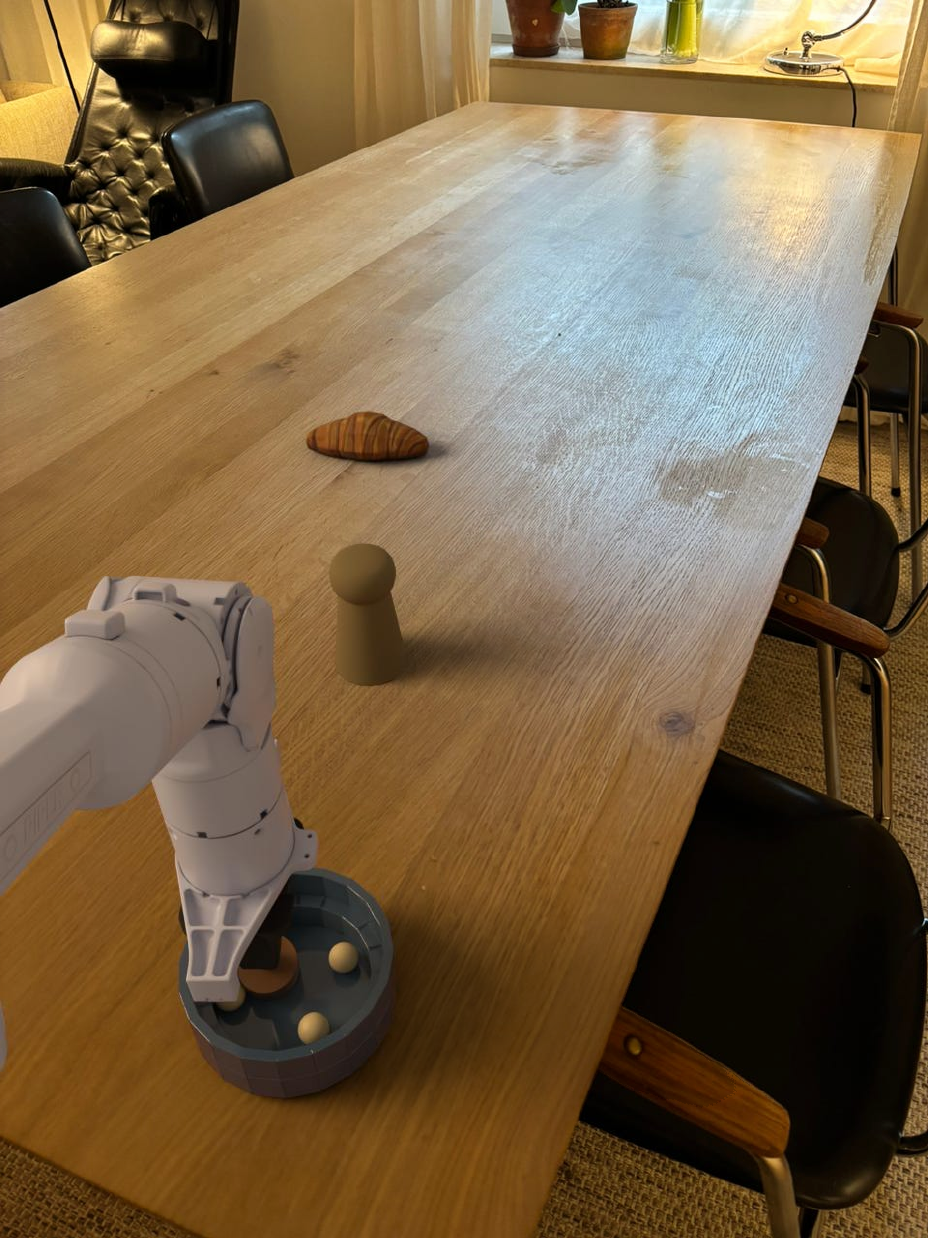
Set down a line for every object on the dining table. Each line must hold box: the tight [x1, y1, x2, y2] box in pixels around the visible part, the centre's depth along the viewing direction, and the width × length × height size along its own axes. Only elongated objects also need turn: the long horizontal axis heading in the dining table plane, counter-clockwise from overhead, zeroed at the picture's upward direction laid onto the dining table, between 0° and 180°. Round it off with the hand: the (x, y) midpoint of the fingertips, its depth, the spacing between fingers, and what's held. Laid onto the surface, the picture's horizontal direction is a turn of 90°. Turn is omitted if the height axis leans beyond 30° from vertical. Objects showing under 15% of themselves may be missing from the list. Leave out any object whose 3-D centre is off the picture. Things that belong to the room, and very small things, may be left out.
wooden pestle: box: [237, 936, 299, 1001], centre depth 57 cm, size 4×4×9 cm
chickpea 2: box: [298, 1012, 329, 1045], centre depth 57 cm, size 2×2×2 cm
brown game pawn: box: [328, 542, 408, 687], centre depth 80 cm, size 6×6×11 cm
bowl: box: [177, 867, 399, 1099], centre depth 59 cm, size 12×12×5 cm
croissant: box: [305, 410, 430, 462], centre depth 106 cm, size 14×7×5 cm, turn 84°
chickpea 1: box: [216, 983, 245, 1011], centre depth 59 cm, size 2×2×2 cm
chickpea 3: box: [329, 942, 358, 973], centre depth 61 cm, size 2×2×2 cm
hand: (263, 945), depth 56 cm, fingers closed on wooden pestle, 2 cm apart
